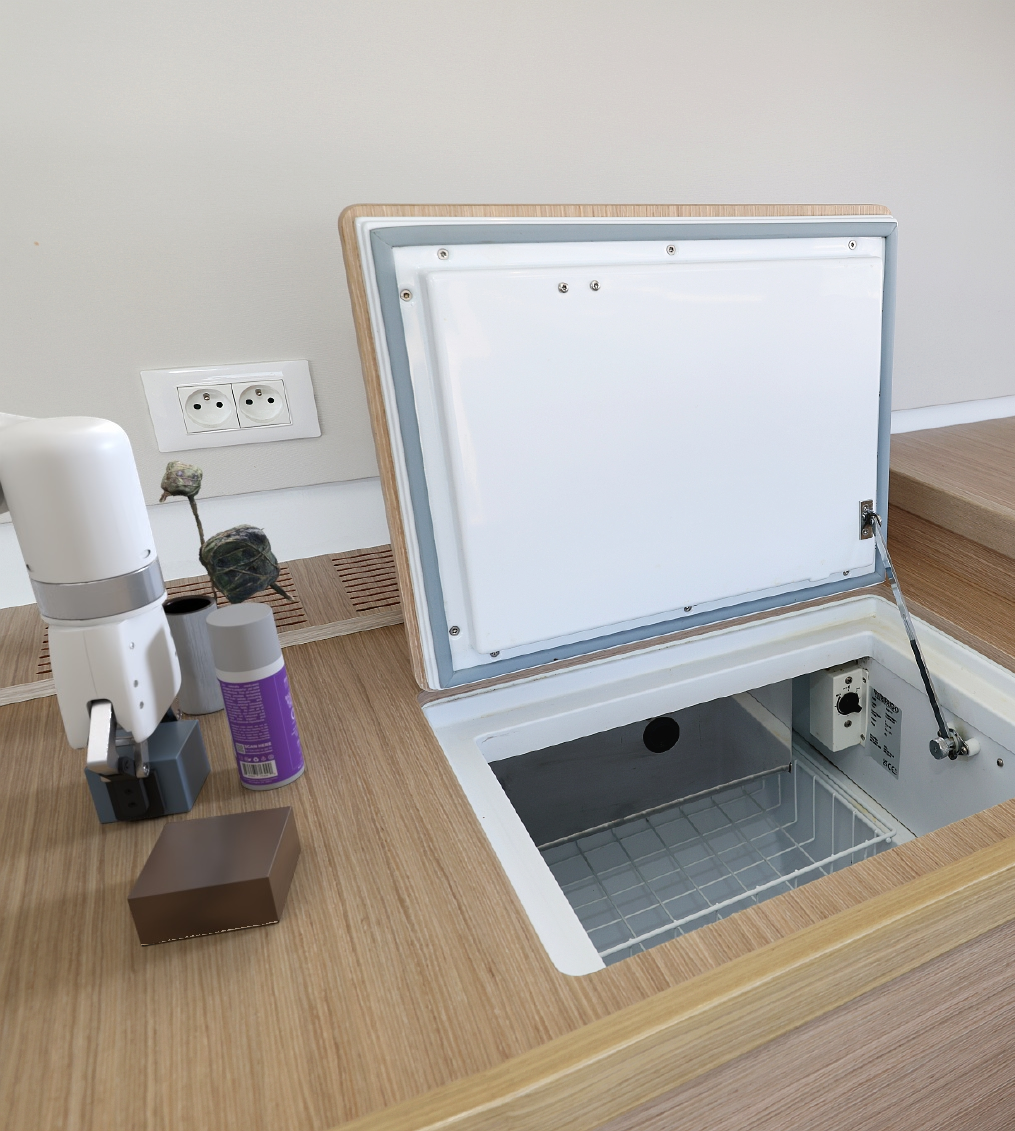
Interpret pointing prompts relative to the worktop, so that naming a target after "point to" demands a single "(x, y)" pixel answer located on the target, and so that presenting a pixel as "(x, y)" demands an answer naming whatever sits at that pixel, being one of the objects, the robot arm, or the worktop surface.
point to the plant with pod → (227, 545)
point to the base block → (216, 875)
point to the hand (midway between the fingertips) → (156, 789)
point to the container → (255, 695)
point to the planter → (194, 653)
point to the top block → (163, 767)
